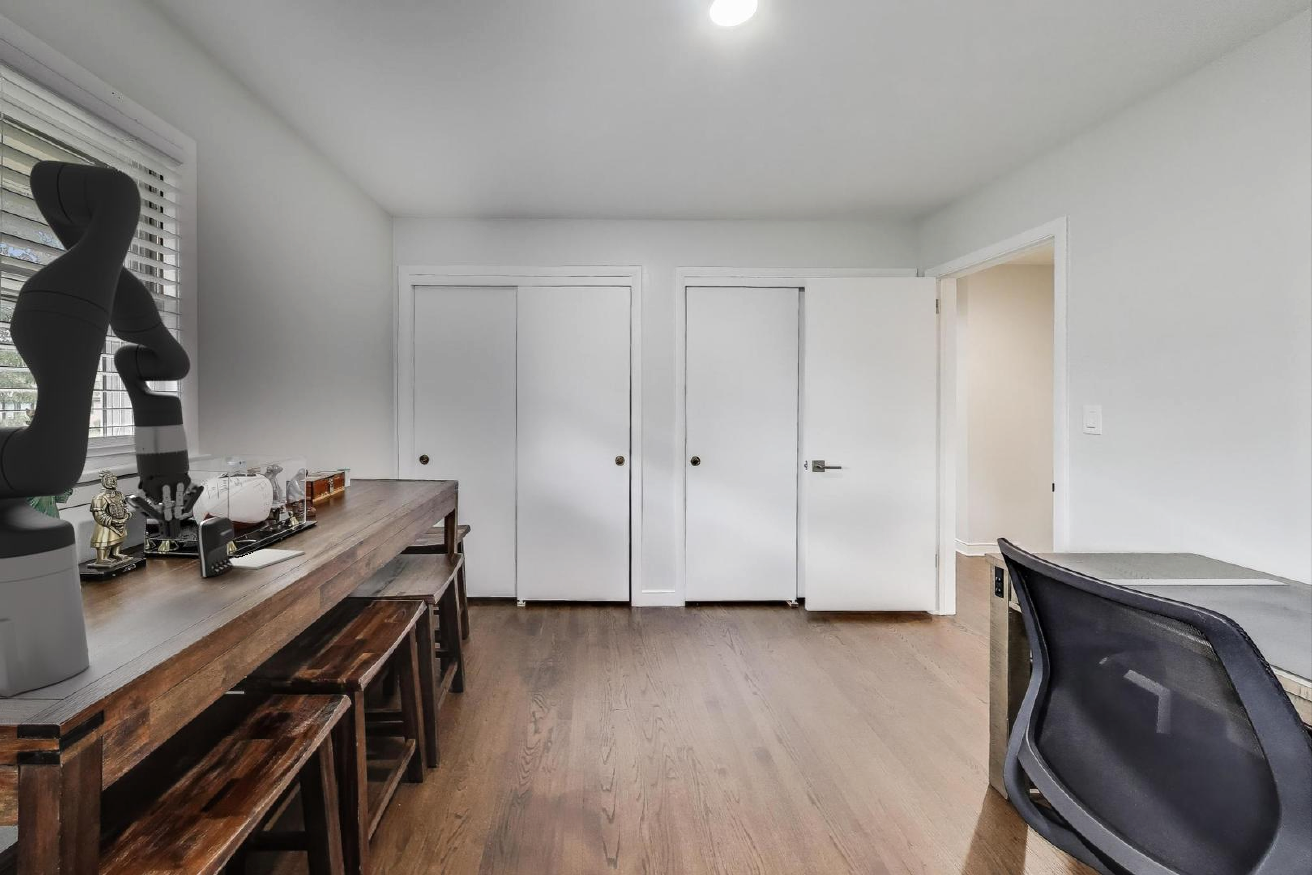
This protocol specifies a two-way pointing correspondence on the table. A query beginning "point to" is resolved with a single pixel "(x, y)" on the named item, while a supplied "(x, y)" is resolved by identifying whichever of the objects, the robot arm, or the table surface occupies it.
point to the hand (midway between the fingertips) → (171, 538)
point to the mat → (263, 558)
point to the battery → (214, 545)
